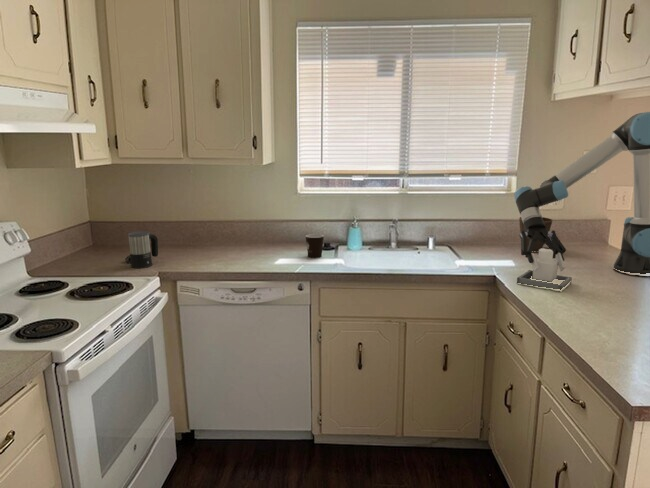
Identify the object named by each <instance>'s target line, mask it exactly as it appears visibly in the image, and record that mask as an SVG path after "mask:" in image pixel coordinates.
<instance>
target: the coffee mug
mask: <svg viewBox="0 0 650 488" xmlns="http://www.w3.org/2000/svg"><path fill="white" fill-rule="evenodd" d="M324 236H325V235H324V234H321V233H309V234H306V235H305V242H306V250H307V257H308V258H311V259H317V258H318V259H319V258H321V257H322V254H323V247H324Z"/></svg>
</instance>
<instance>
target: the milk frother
mask: <svg viewBox="0 0 650 488" xmlns="http://www.w3.org/2000/svg"><path fill="white" fill-rule="evenodd" d="M127 236H128V244H129V255H127V256H126V257H125V259H124V260H125V262H126V263H128V264H130V268H132V269H145V268H148V267H151V266H153V261H152V257H155V258H156V257H157V258H158V255H159V244H158V243H159V242H158V240H159V239H158V236H156V234H152V233H150V232H149V231H146V230H145V231H133V232H129V233H128V234H127Z"/></svg>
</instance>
